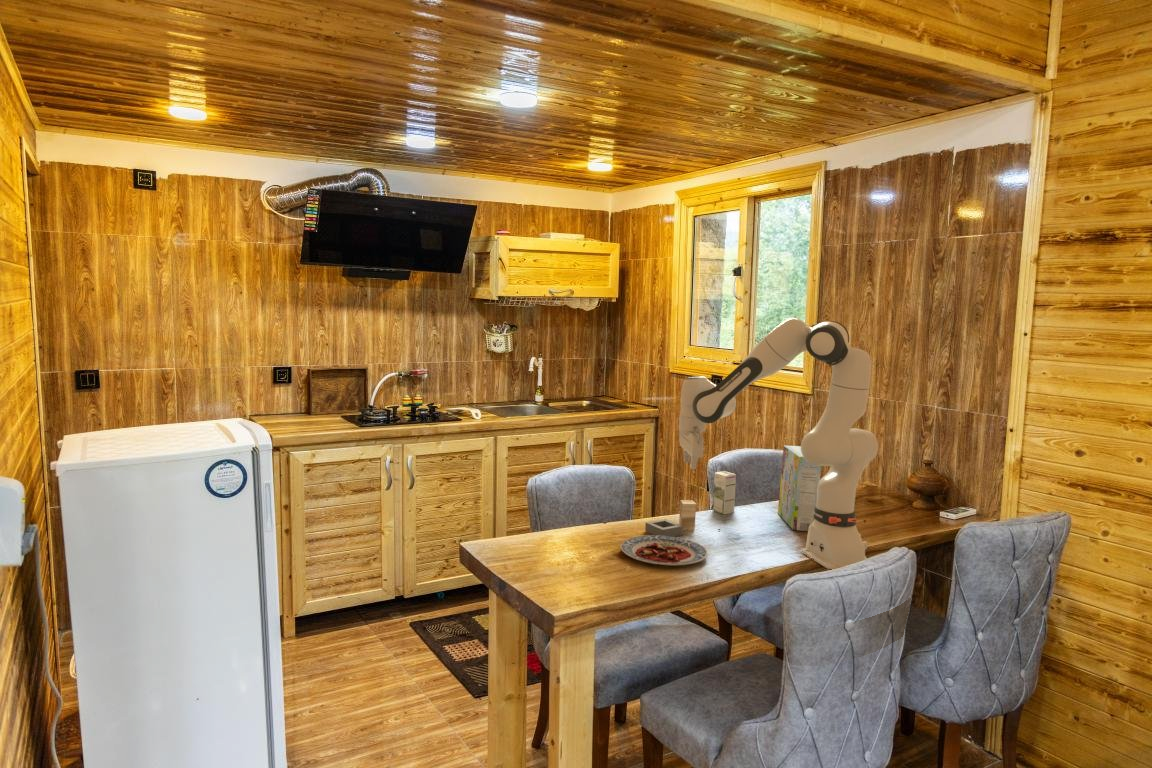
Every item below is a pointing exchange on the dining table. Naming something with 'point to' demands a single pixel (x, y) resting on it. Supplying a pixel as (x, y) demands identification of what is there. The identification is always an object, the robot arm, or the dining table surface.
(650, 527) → the square collar
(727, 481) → the syrup box
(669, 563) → the ceramic plate
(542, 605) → the dining table surface
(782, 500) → the snack box
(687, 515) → the oak peg
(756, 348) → the robot arm
